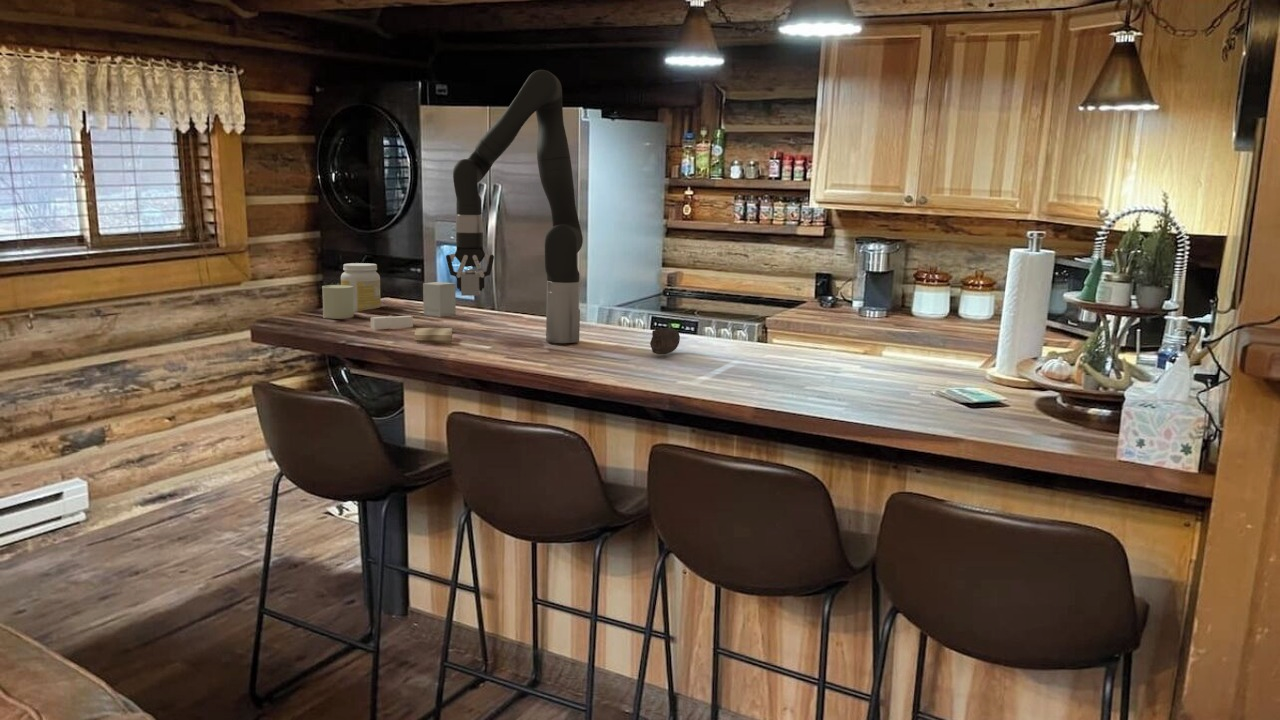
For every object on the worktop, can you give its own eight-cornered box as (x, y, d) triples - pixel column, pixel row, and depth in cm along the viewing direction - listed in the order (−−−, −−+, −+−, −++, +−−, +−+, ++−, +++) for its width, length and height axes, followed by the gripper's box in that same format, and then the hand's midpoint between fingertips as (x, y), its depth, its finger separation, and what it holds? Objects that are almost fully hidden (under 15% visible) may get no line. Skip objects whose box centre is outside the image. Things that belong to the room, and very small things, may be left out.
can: (322, 322, 293) (321, 283, 291) (354, 322, 296) (353, 283, 294) (322, 326, 285) (321, 286, 282) (354, 326, 287) (353, 286, 285)
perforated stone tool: (669, 348, 266) (670, 323, 265) (686, 350, 264) (687, 325, 263) (645, 355, 253) (645, 329, 252) (662, 357, 251) (663, 331, 249)
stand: (452, 336, 273) (452, 328, 273) (452, 344, 260) (452, 335, 260) (416, 336, 271) (416, 328, 271) (414, 344, 259) (414, 334, 258)
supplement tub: (385, 314, 314) (384, 263, 312) (374, 319, 302) (373, 266, 300) (348, 313, 315) (347, 262, 312) (336, 318, 303) (335, 265, 300)
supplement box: (456, 323, 301) (456, 283, 299) (439, 325, 295) (439, 284, 293) (439, 320, 305) (439, 281, 303) (422, 323, 299) (422, 282, 296)
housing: (479, 292, 279) (479, 268, 278) (479, 295, 270) (478, 270, 269) (462, 292, 278) (462, 268, 277) (461, 295, 270) (460, 270, 269)
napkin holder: (419, 332, 282) (419, 313, 281) (412, 338, 271) (412, 318, 270) (368, 331, 281) (367, 312, 280) (359, 337, 270) (358, 317, 269)
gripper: (494, 230, 276) (495, 289, 279) (443, 230, 273) (445, 289, 276) (495, 231, 269) (496, 291, 272) (443, 231, 266) (445, 292, 269)
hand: (470, 290), depth 274 cm, fingers closed on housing, 5 cm apart
